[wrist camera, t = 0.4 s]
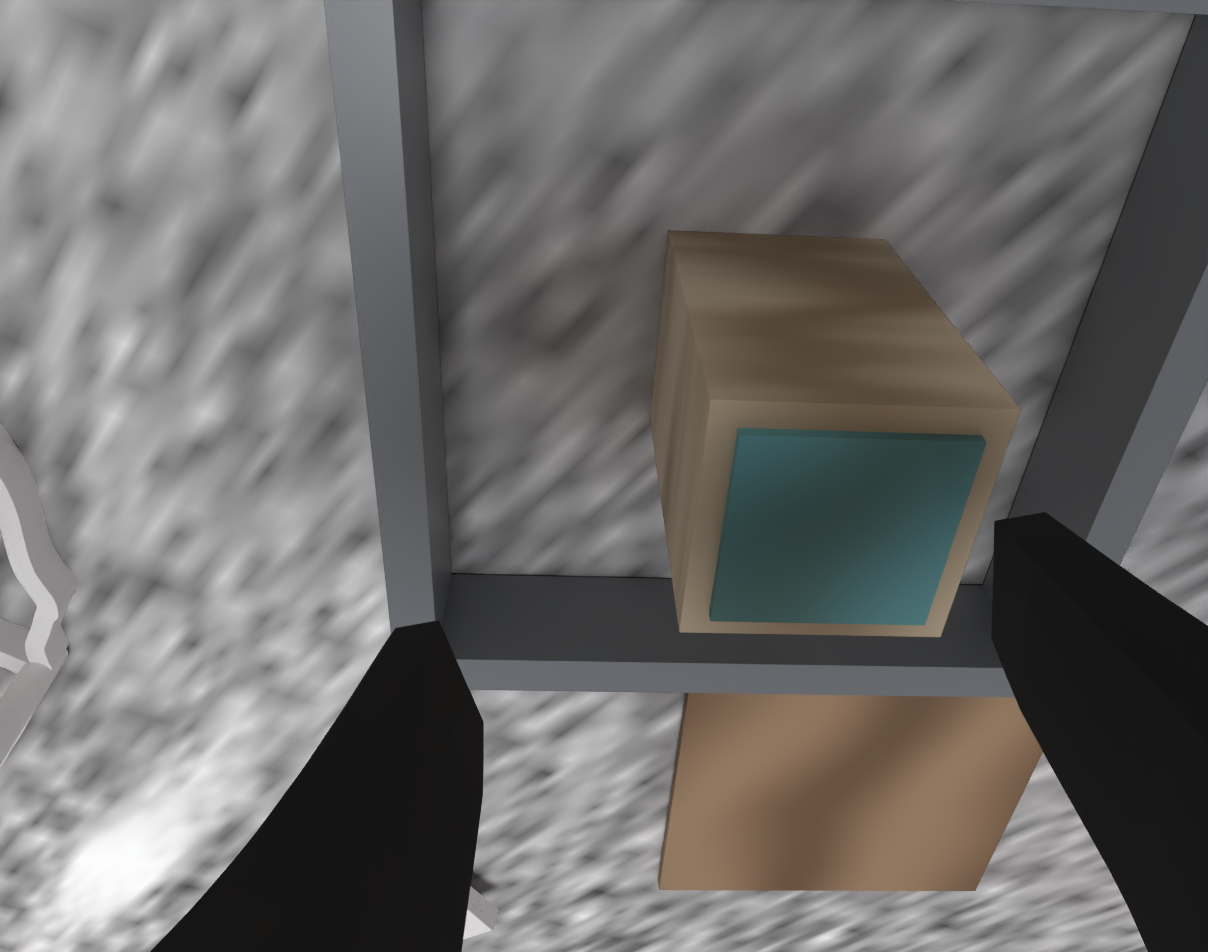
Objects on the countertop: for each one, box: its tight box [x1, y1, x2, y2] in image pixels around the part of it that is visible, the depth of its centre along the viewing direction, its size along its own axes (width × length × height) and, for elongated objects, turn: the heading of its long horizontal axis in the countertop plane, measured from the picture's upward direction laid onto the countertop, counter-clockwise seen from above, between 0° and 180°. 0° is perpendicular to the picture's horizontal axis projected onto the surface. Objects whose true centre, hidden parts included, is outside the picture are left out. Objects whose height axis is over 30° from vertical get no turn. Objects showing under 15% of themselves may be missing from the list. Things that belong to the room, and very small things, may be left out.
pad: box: [658, 693, 1043, 891], centre depth 29 cm, size 11×11×1 cm
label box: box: [650, 230, 1021, 637], centre depth 17 cm, size 4×4×7 cm
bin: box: [324, 0, 1208, 698], centre depth 19 cm, size 16×16×3 cm
